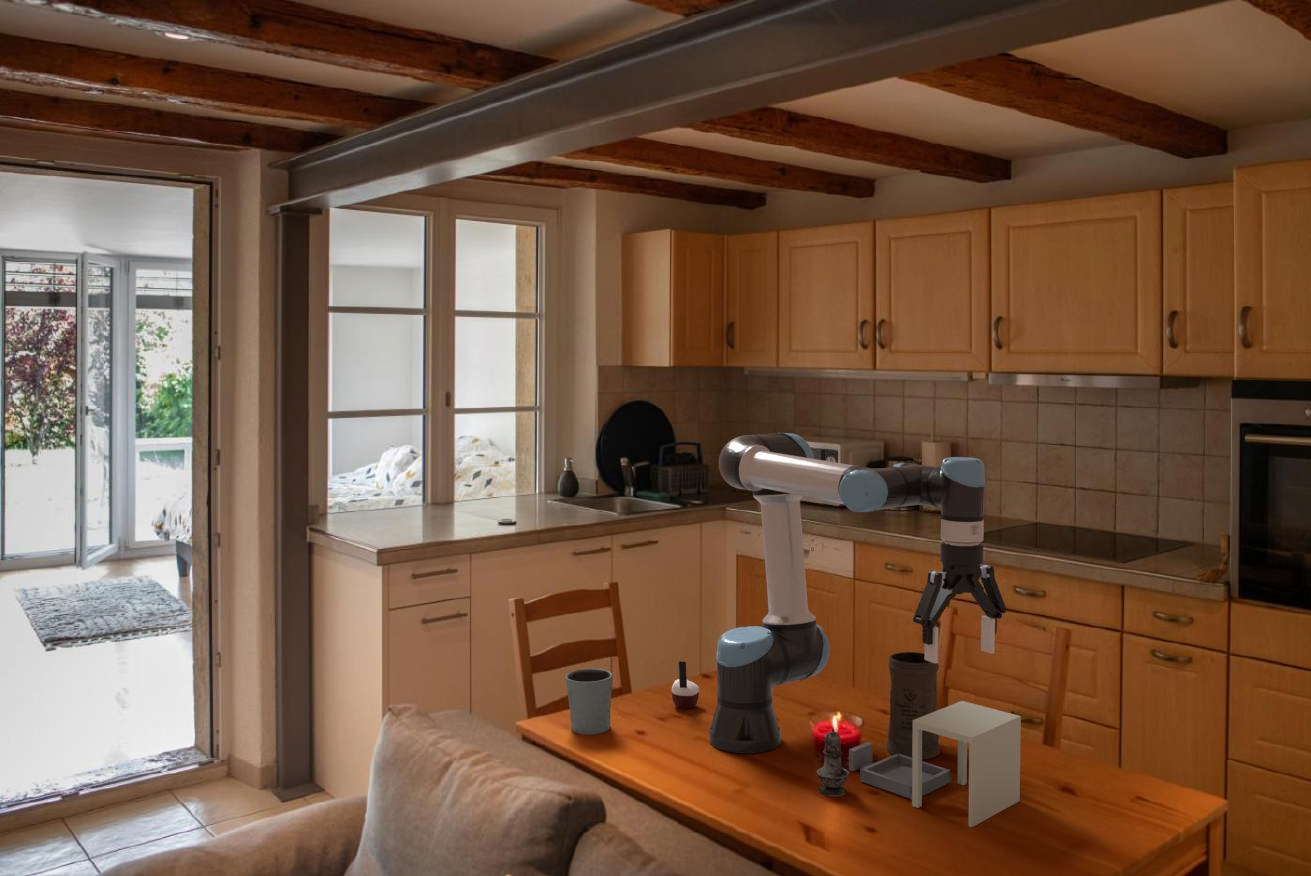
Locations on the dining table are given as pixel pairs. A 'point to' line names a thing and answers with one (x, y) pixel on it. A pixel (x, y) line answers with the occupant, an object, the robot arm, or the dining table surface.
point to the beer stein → (911, 702)
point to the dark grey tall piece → (832, 767)
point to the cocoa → (684, 690)
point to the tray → (895, 772)
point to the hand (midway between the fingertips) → (959, 656)
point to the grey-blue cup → (589, 700)
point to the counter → (975, 755)
